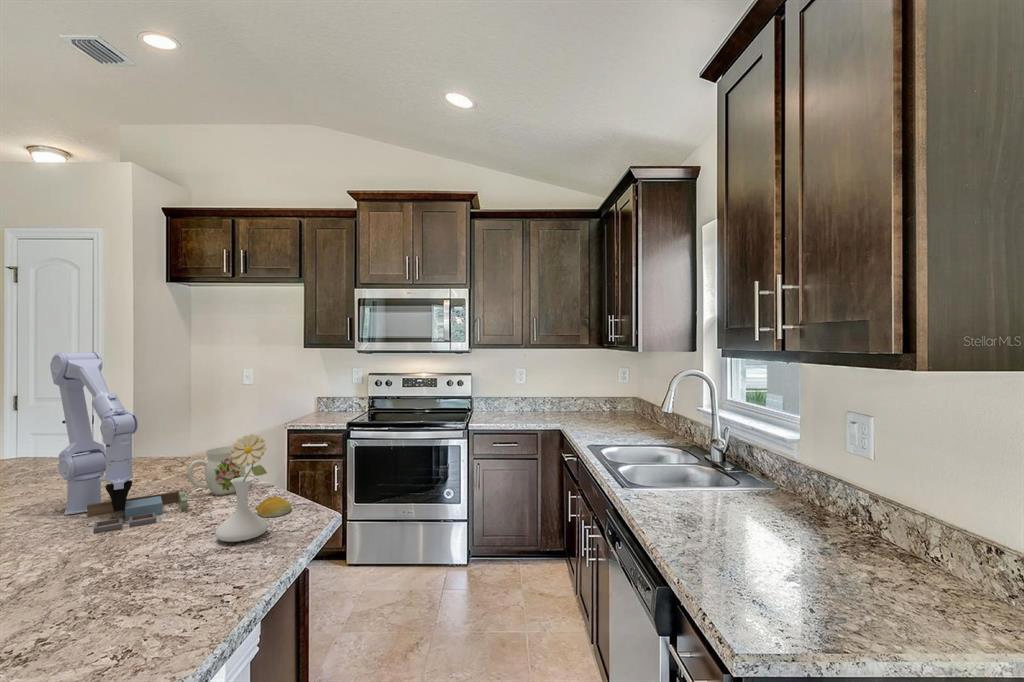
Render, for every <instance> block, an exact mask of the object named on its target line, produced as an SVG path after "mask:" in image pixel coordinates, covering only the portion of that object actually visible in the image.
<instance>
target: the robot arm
mask: <svg viewBox="0 0 1024 682" xmlns="http://www.w3.org/2000/svg"><path fill="white" fill-rule="evenodd" d="M49 368H50V371H51V379H52V381H53V385H56V386H59V393H60V398H61V403H62V409H63V415H64V420H65V424H66V425H65V427H66V431H67V437H68V443H69V445H68V446H67V447H65V448H64V449H63V450H61V451H60V453H59V454H58V467H57V469H58V470H57V471H58V473H59V475H60V477H61V478H62V479H63V480H65V481H66V485H67V486H66V489H67V491H66V492H67V494H66V495H67V499H66V501H67V502H66V503H67V505H66V507H65V511H64V513H63V515H64V516H68V515H70V516H71V515H74V514H82V513H87V505H89V504H96V503H102V502H104V499H102V482H107V484H105V490H106V492H107V493H108V495H109V497H110V501H112V506H113V510H114V512H115V513H117V512H116V511H121V512H123V511H122V510H124V508H125V504H126V499H128V494H129V491H130V490H131V488H132V486H133V480H132V478H134V473H133V435H134V434H135V433H136V432H137V431H138V426H139V423H138V418H137V417H136V414H134V412H131V411H130V410H126V409H125V407H124V405H123V404H122V402H121V400H120V399H119V397H118V395H117V394H116V393H115V392H110V390H109V388H108V386H107V383H106V381H105V379H104V377H103V374H102V369H103V359H102V357H101V355H100V354H99V353H98V352H96V351H92V352H56V353H55V354H54V355H53V357H52V359H51V361H50V364H49ZM84 387H86V389H87V390H88V392H89V393H90V394H91V396H92V397H93V399H92V401H91V405H92V408H93V409H94V411H95V413H96V415H97V416H98V418H99V420H100V422H101V423H100V426H99V430H100V434H101V436H102V442H103V444H102V443H100V442H97V441H96V440H94V438H93V433H92V427H91V423H90V416H89V412H88V411H89V410H88V405H87V401H86V395H85V391H84ZM104 475H105V476H104Z"/></svg>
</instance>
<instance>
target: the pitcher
mask: <svg viewBox="0 0 1024 682" xmlns="http://www.w3.org/2000/svg"><path fill="white" fill-rule="evenodd" d="M232 447H233V445H228V446H222V447H215V448H210V449H208V450H206V451H205V454H206V457H207V460H204V459H196V460H193V461H192V462H191V464H190V465H189V466H188V469H187V478H188V481H189V483H190V484H191V485H193V486H195V487H196V488H202V489H209V490H210V492H211V493H212V495H216V496H225V494H226V495H230V493H231V494H234V493H236V490H235V487H234V485H233V484H232V483H231V482H230V481H231V480H232V479H235V478H240V477H245V474H244V473H242V472H240V471H237V470H235V469H234V468H233V467H232V466H234V467H235V468H237V469H240V470H243V471H244V472H245V473H246V466H245V467H242V466H241V464H240V465H236V463H235V464H234V463H233V462H232V459H233V458H231V455H232V454H230V451H231V448H232ZM196 465H197V466H198V465H204V466H205V467H204V477H205V482H204V483H202V482H199V481H197V480H195V478H194V477H193V471H194V468H195V467H196ZM233 492H234V493H233Z"/></svg>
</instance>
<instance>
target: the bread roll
mask: <svg viewBox="0 0 1024 682" xmlns="http://www.w3.org/2000/svg"><path fill="white" fill-rule="evenodd" d="M291 510H292V504H291V503H290V502H289V501H287V500H286V499H284V498H282V497H279V496H271V497H268V498H265V499H264V500H263V501H261V502H260V503H259V504H258V505H257V508H256V512H257V513H258V514H259V515H260V517H261V518H276V516H278V517H281V515H282V516H285V515H286V513H287V514H289V513H290V512H291ZM289 511H290V512H289ZM284 514H285V515H284Z"/></svg>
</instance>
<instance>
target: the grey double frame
mask: <svg viewBox="0 0 1024 682" xmlns="http://www.w3.org/2000/svg"><path fill="white" fill-rule="evenodd" d="M128 521H129V522H128V523H129V528H133V527H134V528H135V527H140V526H145V525H151V524H156V523H157V515H155V512H154V513H148V514H142V515H136V516H130V517H129V520H128ZM93 524H94V525H93V535H95V534H101V533H105V532H111V531H116V530H122V529H123V517H119V518H115V519H106V520H101V521H96V522H94V523H93Z"/></svg>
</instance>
